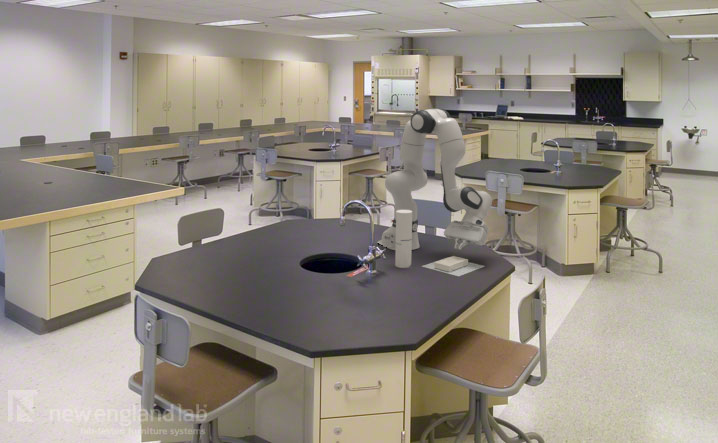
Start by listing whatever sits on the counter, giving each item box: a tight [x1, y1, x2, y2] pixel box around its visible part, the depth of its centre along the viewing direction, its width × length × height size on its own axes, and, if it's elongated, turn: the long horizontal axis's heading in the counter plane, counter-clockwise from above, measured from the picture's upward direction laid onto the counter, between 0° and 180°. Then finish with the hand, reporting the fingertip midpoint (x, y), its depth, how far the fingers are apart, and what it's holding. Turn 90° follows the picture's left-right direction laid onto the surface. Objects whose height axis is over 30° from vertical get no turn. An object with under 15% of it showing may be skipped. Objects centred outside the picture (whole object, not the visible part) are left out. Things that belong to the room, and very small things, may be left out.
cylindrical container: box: [394, 210, 412, 269], centre depth 251 cm, size 7×7×25 cm
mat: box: [421, 256, 486, 277], centre depth 250 cm, size 20×20×1 cm
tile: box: [433, 255, 469, 272], centre depth 249 cm, size 8×3×14 cm
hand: (457, 248), depth 250 cm, fingers closed
